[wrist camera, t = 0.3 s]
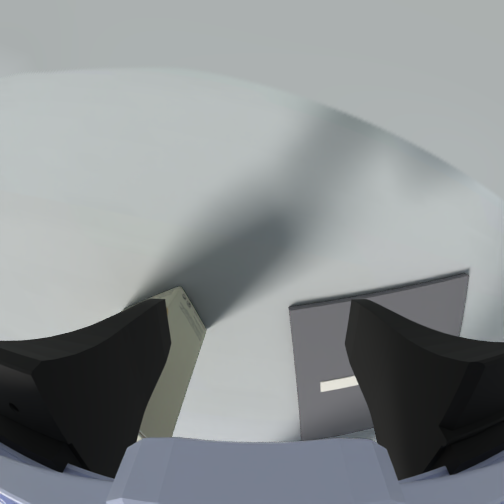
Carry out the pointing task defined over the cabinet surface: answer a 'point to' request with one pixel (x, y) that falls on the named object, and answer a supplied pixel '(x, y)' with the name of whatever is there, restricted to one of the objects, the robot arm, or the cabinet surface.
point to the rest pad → (335, 356)
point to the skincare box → (174, 365)
